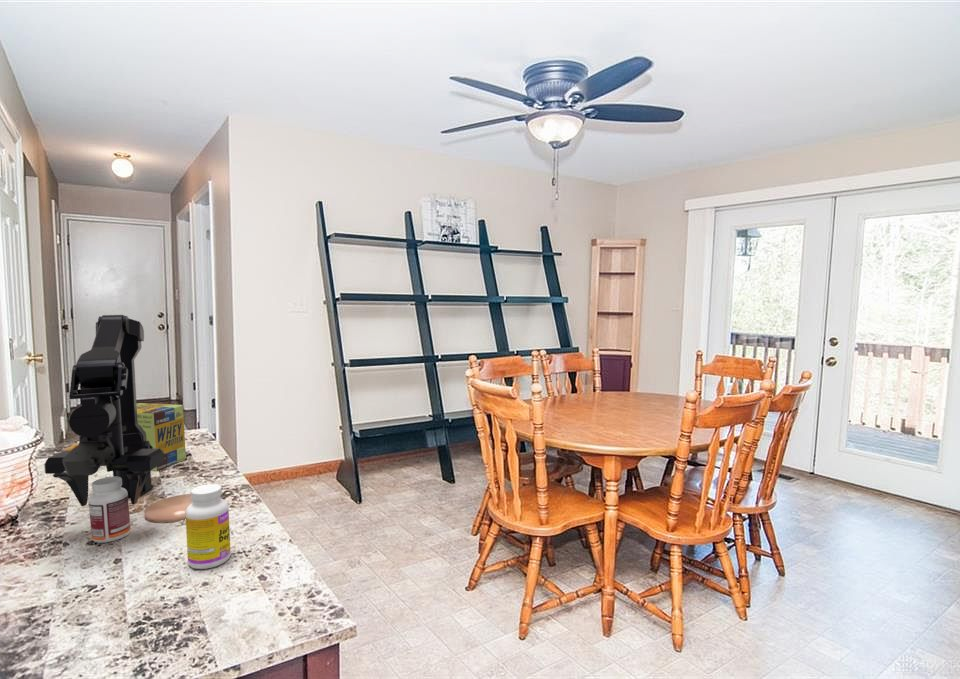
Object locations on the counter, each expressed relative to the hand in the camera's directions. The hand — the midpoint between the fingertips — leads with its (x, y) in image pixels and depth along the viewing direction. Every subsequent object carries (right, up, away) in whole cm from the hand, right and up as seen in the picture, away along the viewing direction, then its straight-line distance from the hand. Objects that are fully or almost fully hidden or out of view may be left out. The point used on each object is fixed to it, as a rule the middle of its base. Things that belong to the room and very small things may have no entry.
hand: (109, 504), depth 103 cm
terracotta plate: (+6, -5, +13) cm, 15 cm away
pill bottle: (0, -6, +1) cm, 7 cm away
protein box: (-20, -3, +44) cm, 48 cm away
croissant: (-36, -3, +44) cm, 57 cm away
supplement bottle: (+24, -7, -9) cm, 26 cm away
